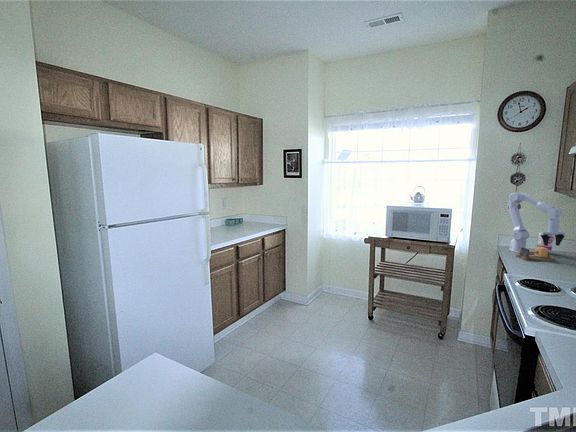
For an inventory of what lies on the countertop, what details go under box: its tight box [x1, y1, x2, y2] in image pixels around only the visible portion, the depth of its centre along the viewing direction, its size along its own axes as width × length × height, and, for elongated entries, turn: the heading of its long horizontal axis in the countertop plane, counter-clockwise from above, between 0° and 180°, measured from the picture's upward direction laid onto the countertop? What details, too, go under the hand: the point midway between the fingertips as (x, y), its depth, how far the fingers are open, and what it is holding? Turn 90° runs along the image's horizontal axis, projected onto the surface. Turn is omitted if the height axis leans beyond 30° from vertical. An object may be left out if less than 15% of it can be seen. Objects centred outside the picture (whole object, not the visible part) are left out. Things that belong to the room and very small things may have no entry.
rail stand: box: [515, 247, 556, 262], centre depth 211 cm, size 10×19×7 cm, turn 88°
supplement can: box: [536, 232, 555, 253], centre depth 226 cm, size 8×8×15 cm
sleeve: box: [533, 246, 548, 257], centre depth 211 cm, size 6×4×6 cm
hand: (551, 245), depth 209 cm, fingers open, 7 cm apart
